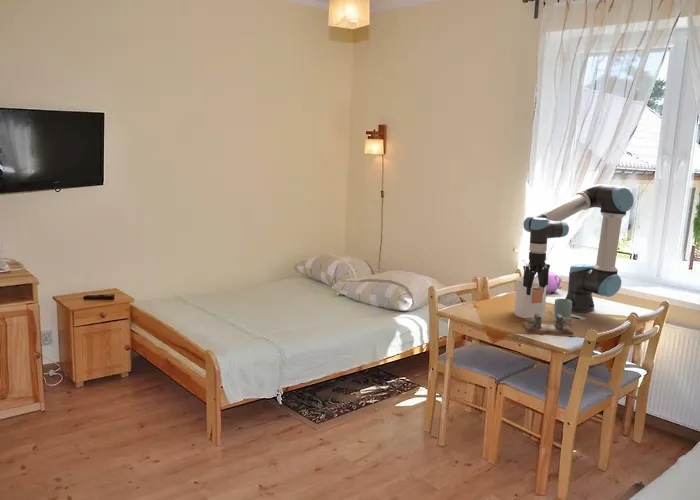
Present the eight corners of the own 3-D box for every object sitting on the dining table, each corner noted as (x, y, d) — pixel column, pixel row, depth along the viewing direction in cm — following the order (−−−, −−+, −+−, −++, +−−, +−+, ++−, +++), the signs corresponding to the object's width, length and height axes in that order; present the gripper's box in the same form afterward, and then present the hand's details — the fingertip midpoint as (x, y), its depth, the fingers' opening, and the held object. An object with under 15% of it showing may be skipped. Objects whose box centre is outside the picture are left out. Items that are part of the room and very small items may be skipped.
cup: (550, 318, 300) (552, 298, 298) (566, 318, 301) (567, 298, 299) (557, 323, 292) (559, 303, 290) (573, 323, 293) (574, 302, 291)
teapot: (522, 291, 351) (523, 269, 349) (530, 286, 363) (532, 265, 360) (557, 296, 340) (559, 274, 337) (565, 291, 351) (566, 270, 349)
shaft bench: (566, 326, 287) (568, 312, 286) (573, 334, 276) (574, 320, 275) (523, 324, 289) (524, 311, 288) (527, 332, 278) (528, 318, 277)
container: (517, 309, 315) (520, 275, 312) (546, 313, 309) (549, 278, 306) (511, 316, 302) (514, 281, 299) (541, 320, 296) (544, 284, 293)
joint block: (535, 299, 288) (536, 286, 286) (542, 302, 283) (543, 288, 282) (526, 300, 286) (527, 287, 285) (533, 303, 281) (534, 289, 280)
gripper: (547, 249, 287) (544, 296, 291) (516, 251, 280) (513, 300, 284) (559, 251, 280) (555, 301, 284) (526, 254, 273) (523, 305, 278)
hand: (534, 300), depth 284 cm, fingers closed on joint block, 5 cm apart
